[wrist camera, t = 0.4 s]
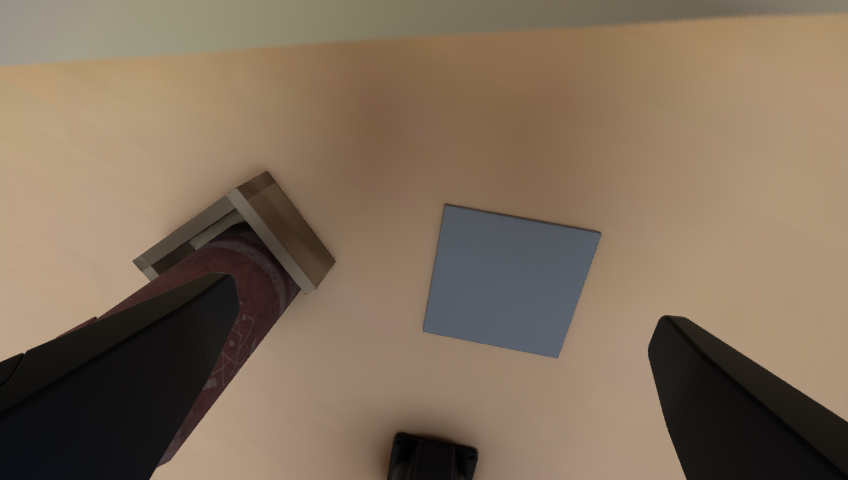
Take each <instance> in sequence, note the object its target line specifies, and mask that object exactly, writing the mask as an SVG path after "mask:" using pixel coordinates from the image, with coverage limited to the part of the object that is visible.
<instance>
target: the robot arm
mask: <svg viewBox="0 0 848 480" xmlns="http://www.w3.org/2000/svg"><path fill="white" fill-rule="evenodd" d="M239 311H240V301H239V296H238V291H237V286H236V281H235V278H234V276H233V275H232V274H230V273H223V272H211V273H208V274H206V275H204V276H201V277H199V278H197V279H194V280H192V281H189V282H187V283H185V284H182V285H180V286H178V287H175V288H173V289H171V290H168V291H166V292H164V293H161V294H159V295H157V296H154V297H152V298H150V299H147V300H145V301H142V302H140V303H138V304H135V305H133V306H131V307H128V308H126V309H124V310H121V311H119V312H117V313H114V314H112V315H110V316H107V317H105V318H103V319H100V320H98V321H96V322H93V323H91V324H88V325H86V326H84V327H81V328H79V329H77V330H74V331H72V332H70V333H67V334H65V335H63V336H60V337H58V338H56V339H53V340H51V341H49V342H46V343H44V344H42V345H39V346H37V347H34V348H32V349H30V350H28V351H26V353H25V354H24V353H20V354H18V355H15V356H13V357H11V358H8V359H6V360H4V361H1V362H0V480H149V479H150V478H151V476H152V474H153V473H154V471H155V469H156V467H157V466H158V464H159V462H160V461H161V459H162V457H163V456H164V454H165V452H166V451H167V449H168V447H169V445H170V444H171V442H172V440H173V439H174V437H175V435H176V434H177V432H178V430H179V429H180V427H181V425H182V423H183V422H184V420H185V418H186V417H187V415H188V413H189V412H190V410H191V408H192V407H193V405H194V403H195V402H196V400H197V398H198V396H199V395H200V393H201V391H202V390H203V388H204V386H205V385H206V383H207V381H208V379H209V377H210V376H211V374H212V372H213V370H214V368H215V366H216V363H217V361H218V359H219V357H220V355H221V352H222V350H223V348H224V346H225V344H226V341H227V339H228V337H229V335H230V333H231V330H232V328H233V326H234V324H235V322H236V319H237V317H238V315H239ZM648 357H649V361H650V365H651V369H652V373H653V377H654V381H655V384H656V388H657V392H658V396H659V400H660V404H661V408H662V412H663V415H664V419H665V422H666V426H667V429H668V431H669V434H670V437H671V440H672V442H673V445H674V448H675V450H676V453H677V456H678V458H679V461H680V463H681V466H682V469H683V471H684V474H685V477H686V479H687V480H848V422H847V421H846V420H844V419H842V418H841V417H839V416H838V415H836V414H835V413H833V412H832V411H830V410H828V409H827V408H825V407H824V406H822V405H821V404H819V403H818V402H816V401H814V400H813V399H811V398H810V397H808V396H807V395H805V394H804V393H802V392H801V391H799V390H797V389H796V388H794V387H793V386H791V385H790V384H788V383H787V382H785V381H783V380H782V379H780V378H779V377H777V376H776V375H774V374H773V373H771V372H769V371H768V370H766V369H765V368H763V367H762V366H760V365H759V364H757V363H756V362H754V361H752V360H751V359H749V358H748V357H746V356H745V355H743V354H742V353H740V352H738V351H737V350H735V349H734V348H732V347H731V346H729V345H728V344H726V343H725V342H723V341H721V340H720V339H718V338H717V337H715V336H714V335H712V334H711V333H709V332H707V331H706V330H704V329H703V328H701V327H700V326H698V325H697V324H695V323H694V322H692V321H690V320H689V319H687V318H685V317H681V316H671V315H664V316H662V317H661V318H660V319H659V321H658V323H657V326H656V328H655V331H654V333H653V336H652V338H651V341H650V343H649V347H648ZM400 440H401V441H400ZM471 455H472V456H471ZM477 461H478V452H477V451H476V450H475V449H472V448H467V447H463V446H458V445H453V444H448V443H444V442H439V441H434V440H429V439H425V438H420V437H415V436H410V435H406V434H400V433H399V434H396V435H395V437H394V441H393V447H392V453H391V459H390V465H389V471H388V478H387V480H472V478H473V474H474V471H475V468H476V464H477Z"/></svg>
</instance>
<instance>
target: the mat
mask: <svg viewBox="0 0 848 480" xmlns="http://www.w3.org/2000/svg"><path fill="white" fill-rule="evenodd" d="M600 237H601V233H600V232H597V231H591V230H586V229H580V228H575V227H569V226H564V225H558V224H553V223H547V222H542V221H536V220H531V219H525V218H519V217H514V216H508V215H503V214H497V213H492V212H486V211H481V210H475V209H470V208H464V207H459V206H453V205H448V204H445V210H444V215H443V221H442V227H441V232H440V238H439V244H438V249H437V255H436V260H435V266H434V272H433V277H432V283H431V289H430V294H429V300H428V306H427V311H426V317H425V323H424V328H423V332H427V333H432V334H437V335H442V336H447V337H452V338H457V339H462V340H467V341H472V342H477V343H482V344H488V345H493V346H498V347H503V348H508V349H513V350H518V351H523V352H528V353H533V354H538V355H543V356H548V357H553V358H558V356H559V354H560V351H561V348H562V345H563V342H564V339H565V337H566V334H567V331H568V328H569V325H570V322H571V319H572V317H573V314H574V311H575V308H576V305H577V302H578V299H579V297H580V294H581V291H582V288H583V285H584V282H585V280H586V277H587V274H588V271H589V268H590V265H591V262H592V260H593V257H594V254H595V251H596V248H597V245H598V242H599V240H600Z"/></svg>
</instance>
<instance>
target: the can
mask: <svg viewBox="0 0 848 480" xmlns="http://www.w3.org/2000/svg"><path fill="white" fill-rule="evenodd" d="M211 272H223V273H230V274H232V275H233V276H234V278H235V281H236V286H237V291H238V296H239V301H240V311H239V315H238V317H237V319H236V322H235V324H234V326H233V328H232V330H231V333H230V335H229V337H228V339H227V341H226V344H225V346H224V348H223V350H222V352H221V355H220V357H219V359H218V361H217V363H216V366H215V368H214V370H213V372H212V374H211V376H210V377H209V379H208V381H207V383H206V385H205V386H204V388H203V390H202V391H201V393H200V395H199V396H198V398H197V400H196V402H195V403H194V405H193V407H192V408H191V410H190V412H189V413H188V415H187V417H186V418H185V420H184V422H183V423H182V425H181V427H180V429H179V430H178V432H177V434H176V435H175V437H174V439H173V440H172V442H171V444H170V445H169V447H168V449H167V451H166V452H165V454H164V456H163V457H162V459H161V461H160V462H159V464H158V466H157V467H159V466H161V465H163V464H165V463H167V462H169V461H170V460H171V459H172V457H173V456H174V455H175V454H176V452H177V451H178V450H179V448H180V447H181V446H182V444H183V443H184V442H185V440H186V439H187V438H188V437H189V435H190V434H191V433H192V431H193V430H194V429H195V427H196V426H197V425H198V423H199V422H200V421H201V420H202V418H203V417H204V416H205V414H206V413H207V412H208V410H209V409H210V408H211V406H212V405H213V404H214V403H215V401H216V400H217V399H218V397H219V396H220V395H221V393H222V392H223V391H224V389H225V388H226V387H227V386H228V384H229V383H230V382H231V380H232V379H233V378H234V376H235V375H236V374H237V373H238V371H239V370H240V369H241V367H242V366H243V365H244V363H245V362H246V361H247V359H248V358H249V357H250V356H251V354H252V353H253V352H254V350H255V349H256V348H257V346H258V345H259V344H260V342H261V341H262V340H263V339H264V337H265V336H266V335H267V333H268V332H269V331H270V329H271V328H272V327H273V325H274V324H275V323H276V322H277V320H278V319H279V318H280V316H281V315H282V314H283V312H284V311H285V310H286V308H287V307H288V306H289V305H290V303H291V302H292V301H293V299H294V298H295V297H296V295H297V294H298V293H299V291H300V290H301V288H300V287H299V286H298V284H297V283H296V282H295V281H294V279H293V278H292V277H291V276H290V274H289V273H288V272H287V271H286V269H285V268H284V267H283V266H282V264H281V263H280V262H279V261H278V259H277V258H276V257H275V256H274V254H273V253H272V252H271V251H270V249H269V248H268V247H267V246H266V245H265V243H264V242H263V241H262V240H261V238H260V237H259V236H258V235H257V233H256V232H255V231H254V230H253V228H252V227H251V226H250V225H249V223H248V222H244V223H240V224H236V225H232V226H231V227H229V228H228V229H226V230H225V231H224V232H222V233H221V234H219V235H218V236H216V237H215V238H213V239H212V240H211V241H209V242H208V243H206V244H205V245H203V246H202V247H200V248H199V249H197V250H196V251H195V252H193V253H192V254H190V255H189V256H187V257H186V258H184V259H183V260H182V261H180V262H179V263H177V264H176V265H174V266H173V267H171V268H170V269H169V270H167V271H166V272H164V273H163V274H161V275H160V276H158V277H157V278H155V279H154V280H153V281H151V282H150V283H148V284H147V285H145V286H144V287H142V288H141V289H140V290H138V291H137V292H135V293H134V294H132V295H131V296H129V297H128V298H127V299H125V300H124V301H122V302H121V303H119V304H118V305H116V306H115V307H113V308H112V309H111V310H109V311H108V312H106V313H105V314H103V315H102V316H100V317H99V318H98V319H97V317H93V318H91V319H89V320H87V321H86V322H84V323H82V324H80V325H78V326H76V327H74V328H73V329H71V330H69V331H67V332H65V333H63V334H61V335H60V336H63V335H65V334H67V333H70V332H72V331H74V330H77V329H79V328H81V327H84V326H86V325H88V324H91V323H93V322H96V321H98V320H100V319H103V318H105V317H107V316H110V315H112V314H114V313H117V312H119V311H121V310H124V309H126V308H128V307H131V306H133V305H135V304H138V303H140V302H142V301H145V300H147V299H150V298H152V297H154V296H157V295H159V294H161V293H164V292H166V291H168V290H171V289H173V288H175V287H178V286H180V285H182V284H185V283H187V282H189V281H192V280H194V279H197V278H199V277H201V276H204V275H206V274H208V273H211ZM60 336H58V337H60ZM58 337H57V338H58ZM55 339H56V338H55ZM157 467H156V468H157Z"/></svg>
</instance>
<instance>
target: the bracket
mask: <svg viewBox="0 0 848 480" xmlns="http://www.w3.org/2000/svg"><path fill="white" fill-rule="evenodd" d="M235 209H237V210H238V211H239V212H240V213H241V215H242V216H243V217H244V218H245V220H246V221H247V222H248V223H249V225H250V226H251V227H252V228H253V230H254V231H255V232H256V233H257V235H258V236H259V237H260V238H261V240H262V241H263V242H264V243H265V245H266V246H267V247H268V248H269V249H270V251H271V252H272V253H273V254H274V256H275V257H276V258H277V259H278V261H279V262H280V263H281V264H282V266H283V267H284V268H285V269H286V271H287V272H288V273H289V274H290V276H291V277H292V278H293V279H294V281H295V282H296V283H297V284H298V286H299V287H300V288H301V289H302V291H303V292H304V293H305V294H308V293H310V292H311V291H313V290H315V289H317V287H318V286H319V284H320V283H321V281H322V280H323V279H324V277H325V276H326V274H327V273H328V272H329V270H330V269H331V267H332V266H333V264H334V263H335V262H336V261H335V260H334V259H333V257H332V256H331V255H330V253H329V252H328V251H327V249H326V248H325V247H324V245H323V244H322V243H321V241H320V240H319V239H318V238H317V236H316V235H315V234H314V232H313V231H312V230H311V228H310V227H309V226H308V224H307V223H306V222H305V220H304V219H303V218H302V216H301V215H300V214H299V212H298V211H297V210H296V208H295V207H294V206H293V204H292V203H291V202H290V201H289V199H288V198H287V197H286V195H285V194H284V193H283V191H282V190H281V189H280V187H279V186H278V185H277V183H276V182H275V181H274V179H273V178H272V177H271V175H270V174H269V173H268V171H266V172H264V173H263V174H261V175H259V176H257V177H255V178H253V179H252V180H250V181H248V182H246V183H244V184H243V185H241V186H239V187H237V188H236V189H234V190H233V191H231V192H230V193H228V194H227V195H226V196H224V197H223V198H221V199H220V200H218V201H217V202H216V203H214V204H213V205H211V206H210V207H208V208H207V209H206V210H204V211H203V212H201V213H200V214H198V215H197V216H196V217H194V218H193V219H191V220H190V221H189V222H187V223H186V224H184V225H183V226H181V227H180V228H179V229H177V230H176V231H174V232H173V233H171V234H170V235H169V236H167V237H166V238H164V239H163V240H161V241H160V242H159V243H157V244H156V245H154V246H153V247H152V248H150V249H149V250H147V251H146V252H144V253H143V254H142V255H140V256H139V257H137V258H136V259H134V260H133V261H132V262H133V263H134V264H135V265H136V266H137V267H138V268H139V269H140V270H141V271H142V273H143V274H144V275H145V276H146V277H147V278H148V279H149V280H150V281H153V280H154V279H155V278H157V277H158V276H160V275H161V274H163V273H164V272H166V271H167V270H169V269H170V268H171V267H173V266H174V265H176V264H177V263H179V262H180V261H182V260H183V259H184V258H186V257H187V256H189V255H190V254H192V253H193V252H195V250H194V248H193V247H192V246H191V245H190V244H189V243H188V241H190V240H191V239H193V238H194V237H196V236H197V235H199V234H200V233H202V232H203V231H205V230H206V229H208V228H209V227H210V226H212V225H213V224H215V223H216V222H218V221H219V220H221V219H222V218H224V217H225V216H227V215H228V214H230V213H231V212H232V211H234V210H235Z"/></svg>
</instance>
